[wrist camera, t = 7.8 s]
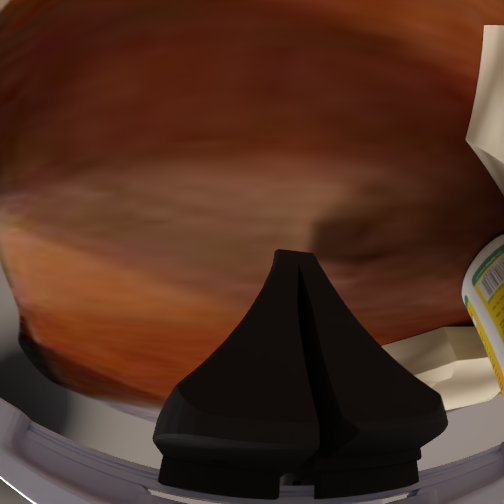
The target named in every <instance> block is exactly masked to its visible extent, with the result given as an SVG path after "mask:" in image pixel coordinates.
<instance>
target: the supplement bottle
mask: <svg viewBox="0 0 504 504" xmlns="http://www.w3.org/2000/svg"><path fill="white" fill-rule="evenodd" d="M462 298H463V301H464V304H465V306H466V308H467V310H468V312H469V314H470V316H471V318H472V320H473V323H474V325H475V327H476V329H477V331H478V333H479V336H480V338H481V340H482V343H483V345H484V347H485V350H486V352H487V355H488V357H489V360H490V362H491V365H492V368H493V370H494V373H495V376H496V379H497V381H498V384H499V388H500V390H501V394H502V396H503V399H504V234H503V235H501V236H499V237H497V238H495V239H494V240H492V241H491V242H490V243H489V244H487V245H486V246H485V247H484V248H483V249H482V250H481V251H480V252H479V253H478V255H477V256H476V257H475V259H474V260H473V262H472V263H471V265H470V266H469V268H468V270H467V272H466V275H465V278H464V281H463V286H462Z"/></svg>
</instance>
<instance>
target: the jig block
mask: <svg viewBox="0 0 504 504" xmlns="http://www.w3.org/2000/svg"><path fill="white" fill-rule="evenodd" d="M466 141H467V142H468V144H469V145H470V146H471V148H472V149H473V150H474V152H475V153H476V155H477V156H478V157H479V159H480V160H481V162H482V163H483V164H484V166H485V167H486V169H487V170H488V172H489V173H490V175H491V176H492V178H493V179H494V181H495V182H496V184H497V186H498V187H499V189H500V190H501V192H502V194H503V195H504V25H484V35H483V47H482V56H481V64H480V72H479V78H478V84H477V90H476V96H475V101H474V106H473V111H472V115H471V119H470V124H469V128H468V132H467V136H466ZM381 347H382V348H383V349H384V350H385V351H386V352H388V353H389V354H390V355H391V356H392V357H393V358H394V359H395V360H396V361H397V362H398V363H400V364H401V365H402V366H403V367H404V368H406V369H407V370H408V371H409V372H410V373H412V374H413V375H414V376H415V377H417V378H418V379H420V380H421V381H422V382H424V383H425V384H427V385H428V386H429V387H431V388H432V389H434V390H435V391H437V392H438V393H439V394H441V397H442V400H443V404H444V407H445V410H450V409H455V408H460V407H464V406H469V405H473V404H477V403H481V402H485V401H489V400H491V399H492V398H493V397H494V396H496V395H497V394H498V393H499V392H500V391H501V390H500V388H499V384H498V381H497V379H496V376H495V373H494V370H493V368H492V365H491V362H490V360H489V357H488V355H487V352H486V350H485V347H484V345H483V343H482V340H481V338H480V336H479V333H478V331H477V329H476V327H441V328H438V329H435V330H432V331H429V332H426V333H423V334H420V335H417V336H414V337H410V338H407V339H404V340H400V341H397V342H393V343H390V344H386V345H383V346H381Z"/></svg>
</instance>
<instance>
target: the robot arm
mask: <svg viewBox="0 0 504 504" xmlns="http://www.w3.org/2000/svg"><path fill="white" fill-rule="evenodd" d="M447 425H448V420H447V415H446V411H445V407H444V404H443V400H442V397H441V394H439V393H438V392H437V391H435V390H434V389H432V388H431V387H429V386H428V385H427V384H425V383H424V382H422V381H421V380H420V379H418V378H417V377H415V376H414V375H413V374H412V373H410V372H409V371H408V370H407V369H406V368H404V367H403V366H402V365H401V364H400V363H398V362H397V361H396V360H395V359H394V358H393V357H392V356H391V355H390V354H389V353H388V352H386V351H385V350H384V349H383V348H382V347H381V346H380V345H379V344H378V343H377V342H376V341H375V340H374V339H373V337H372V336H371V335H370V334H369V333H368V332H367V331H366V330H365V329H364V327H363V326H362V325H361V324H360V323H359V322H358V320H357V319H356V318H355V317H354V315H353V314H352V313H351V311H350V310H349V309H348V307H347V306H346V305H345V303H344V302H343V300H342V299H341V298H340V296H339V295H338V293H337V292H336V290H335V289H334V287H333V285H332V284H331V282H330V281H329V279H328V278H327V276H326V274H325V273H324V271H323V269H322V268H321V266H320V264H319V262H318V261H317V259H316V257H315V256H314V254H313V253H307V252H299V251H290V250H282V249H278V250H276V251H275V253H274V259H273V265H272V268H271V271H270V273H269V275H268V277H267V280H266V282H265V284H264V286H263V288H262V290H261V291H260V293H259V295H258V297H257V298H256V300H255V302H254V303H253V305H252V306H251V308H250V309H249V311H248V312H247V314H246V315H245V317H244V318H243V319H242V321H241V322H240V323H239V325H238V326H237V327H236V328H235V329H234V331H233V332H232V333H231V334H230V335H229V337H228V338H227V339H226V340H225V341H224V342H223V343H222V344H221V345H220V346H219V347H218V348H217V349H216V350H215V351H214V352H213V353H212V354H211V355H210V356H209V357H208V358H207V359H206V360H205V361H204V362H203V363H202V364H201V365H200V366H199V367H197V368H196V369H195V370H194V371H193V372H191V373H190V374H189V375H188V376H187V377H185V378H184V379H183V380H182V381H180V382H179V383H178V384H177V385H176V386H175V387H174V389H173V390H172V392H171V394H170V395H169V397H168V398H167V400H166V402H165V404H164V406H163V408H162V410H161V412H160V414H159V417H158V419H157V423H156V427H155V431H154V435H153V442H154V443H155V445H156V446H157V448H158V449H159V450H160V452H161V453H162V455H163V459H162V463H161V468H160V470H159V469H155V468H151V467H147V466H144V465H140V464H137V463H133V462H130V461H127V460H124V459H120V458H117V457H114V456H111V455H108V454H106V453H103V452H100V451H97V450H95V449H92V448H89V447H87V446H84V445H82V444H79V443H77V442H75V441H72V440H70V439H67V438H66V437H63V436H61V435H59V434H57V433H55V432H53V431H51V430H48V429H46V428H44V427H42V426H40V425H39V424H37V423H35V422H33V421H31V420H30V419H29V418H28V417H27V416H26V415H25V414H24V413H23V412H21V411H20V410H19V409H17V408H16V407H14V406H13V405H11V404H9V403H7V402H6V401H5V400H3V399H1V398H0V478H1V479H2V480H3V481H4V482H6V483H7V484H8V485H9V486H11V487H12V488H13V489H15V490H16V491H17V492H18V493H20V494H21V495H22V496H24V497H25V498H26V499H28V500H30V501H31V502H32V503H34V504H187V503H182V502H178V501H174V500H170V499H166V498H162V497H158V496H155V495H151V493H150V491H149V490H148V489H150V490H154V491H158V492H162V493H166V494H171V495H176V496H180V497H185V498H190V499H196V500H202V501H209V502H215V503H222V504H382V499H383V498H389V497H393V496H398V495H403V494H407V493H409V494H408V495H407V497H406V498H404V499H401V500H397V501H393V502H389V503H386V504H504V442H502V443H501V444H500V445H498V446H495V447H493V448H491V449H488V450H486V451H483V452H481V453H478V454H475V455H473V456H470V457H467V458H464V459H461V460H458V461H455V462H451V463H448V464H445V465H441V466H438V467H434V468H431V469H427V470H423V471H418V468H417V460H419V459H421V450H420V448H421V447H422V446H424V445H425V444H427V443H428V442H430V441H431V440H433V439H434V438H436V437H437V436H439V435H440V434H441V433H442V432H443V431H444V430H445V429H446V427H447Z"/></svg>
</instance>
